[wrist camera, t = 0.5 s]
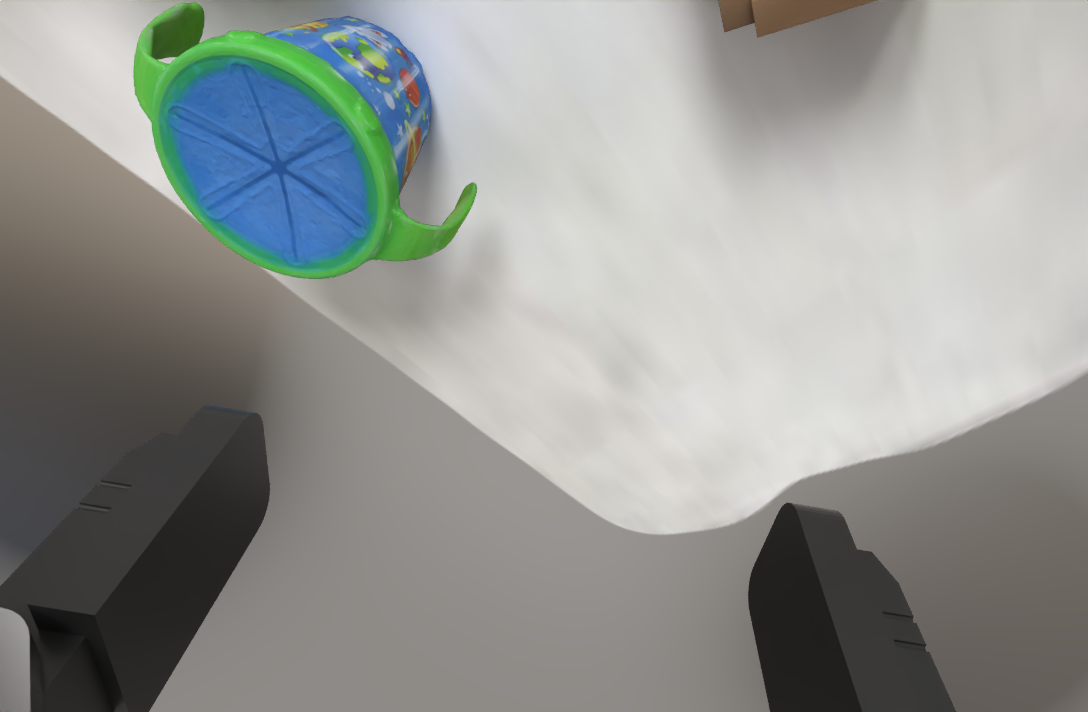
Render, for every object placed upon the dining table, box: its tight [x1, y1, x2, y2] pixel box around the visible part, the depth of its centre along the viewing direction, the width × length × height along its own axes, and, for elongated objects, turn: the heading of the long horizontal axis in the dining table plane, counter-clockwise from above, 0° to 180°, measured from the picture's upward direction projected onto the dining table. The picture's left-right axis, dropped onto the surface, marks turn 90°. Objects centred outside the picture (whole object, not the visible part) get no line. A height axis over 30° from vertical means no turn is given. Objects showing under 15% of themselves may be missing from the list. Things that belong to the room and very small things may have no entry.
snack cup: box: [134, 3, 477, 279], centre depth 32 cm, size 16×10×10 cm
